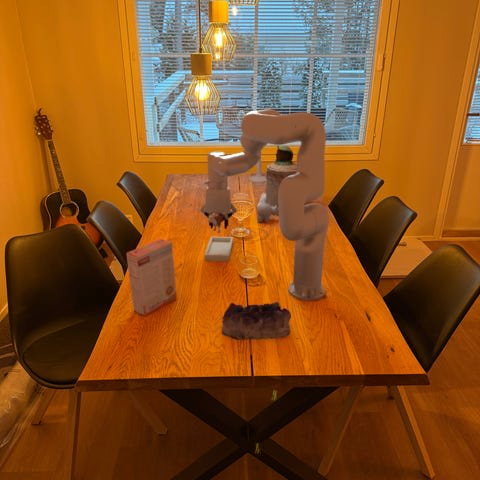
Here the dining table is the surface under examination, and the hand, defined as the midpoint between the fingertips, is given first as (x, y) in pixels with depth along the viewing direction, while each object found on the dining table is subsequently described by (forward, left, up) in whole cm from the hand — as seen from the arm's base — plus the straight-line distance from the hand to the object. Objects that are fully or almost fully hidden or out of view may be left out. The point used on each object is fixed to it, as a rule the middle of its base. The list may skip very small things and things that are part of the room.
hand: (218, 227), depth 178 cm
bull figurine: (0, 0, -1) cm, 1 cm away
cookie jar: (+63, -26, -11) cm, 69 cm away
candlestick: (+110, -12, -11) cm, 111 cm away
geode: (-56, -18, -11) cm, 59 cm away
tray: (0, 0, -11) cm, 11 cm away
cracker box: (-43, +16, -11) cm, 47 cm away
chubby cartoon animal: (+37, -20, -11) cm, 43 cm away
